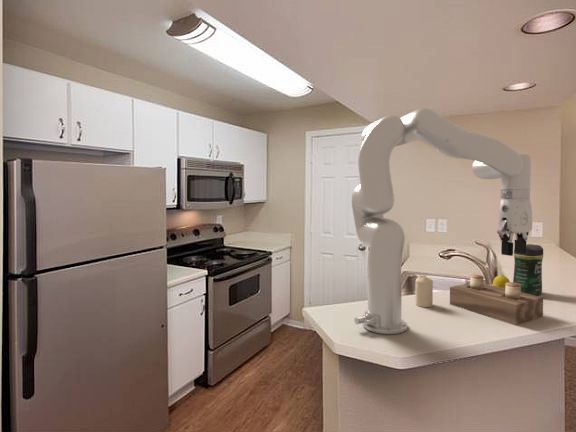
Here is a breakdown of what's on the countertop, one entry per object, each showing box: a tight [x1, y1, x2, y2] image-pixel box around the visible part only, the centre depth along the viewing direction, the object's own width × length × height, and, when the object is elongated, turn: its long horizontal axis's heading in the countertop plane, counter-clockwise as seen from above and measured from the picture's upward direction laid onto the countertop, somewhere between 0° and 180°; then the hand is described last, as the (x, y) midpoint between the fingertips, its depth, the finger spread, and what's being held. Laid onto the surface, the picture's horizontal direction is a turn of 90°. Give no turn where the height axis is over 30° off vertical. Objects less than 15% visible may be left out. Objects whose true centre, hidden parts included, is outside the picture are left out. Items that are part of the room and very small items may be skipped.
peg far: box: [469, 274, 485, 290], centre depth 119 cm, size 4×4×6 cm
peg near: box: [505, 281, 521, 300], centre depth 108 cm, size 4×4×6 cm
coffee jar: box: [512, 243, 544, 296], centre depth 130 cm, size 10×8×19 cm
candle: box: [414, 275, 434, 308], centre depth 120 cm, size 6×6×10 cm
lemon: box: [492, 274, 510, 288], centre depth 128 cm, size 6×6×8 cm
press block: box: [449, 282, 544, 326], centre depth 113 cm, size 14×22×6 cm, turn 27°
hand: (513, 253), depth 107 cm, fingers open, 5 cm apart
